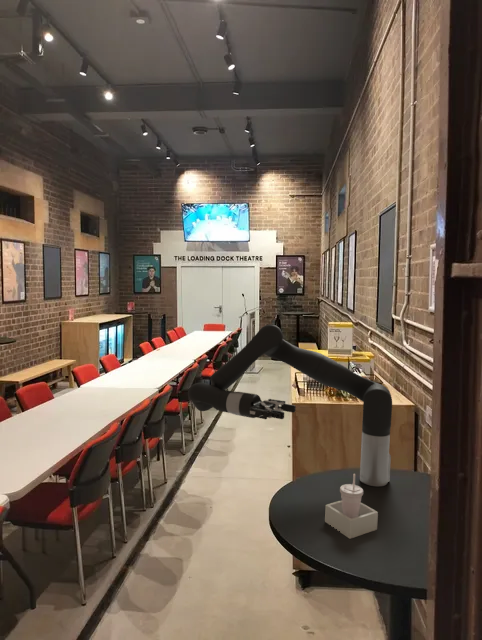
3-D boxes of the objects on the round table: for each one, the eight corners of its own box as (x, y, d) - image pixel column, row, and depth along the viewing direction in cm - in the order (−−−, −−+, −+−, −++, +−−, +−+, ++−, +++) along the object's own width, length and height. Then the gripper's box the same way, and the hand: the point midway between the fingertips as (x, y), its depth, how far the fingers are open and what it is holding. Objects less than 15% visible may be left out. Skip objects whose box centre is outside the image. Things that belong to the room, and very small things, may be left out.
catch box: (351, 513, 140) (352, 497, 139) (377, 529, 131) (377, 512, 130) (324, 521, 134) (325, 504, 134) (349, 538, 126) (350, 520, 125)
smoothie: (362, 529, 129) (364, 479, 128) (338, 526, 130) (340, 477, 129) (361, 517, 135) (363, 470, 134) (338, 515, 136) (340, 468, 135)
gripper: (232, 397, 146) (280, 405, 138) (254, 388, 158) (299, 395, 150) (232, 421, 147) (279, 430, 139) (253, 410, 159) (298, 418, 151)
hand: (289, 412), depth 144 cm, fingers open, 8 cm apart
